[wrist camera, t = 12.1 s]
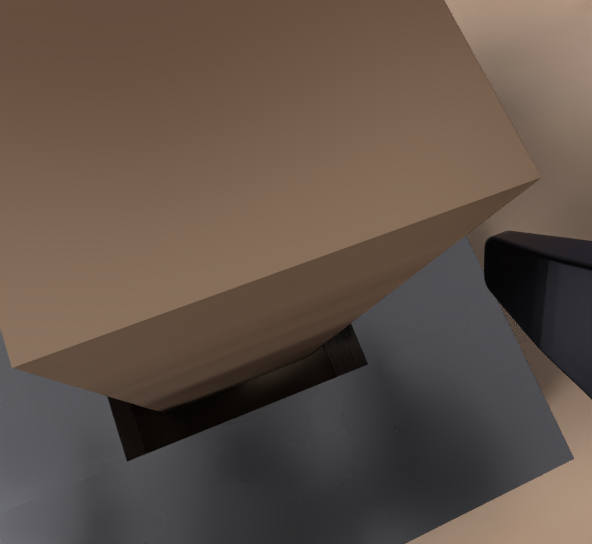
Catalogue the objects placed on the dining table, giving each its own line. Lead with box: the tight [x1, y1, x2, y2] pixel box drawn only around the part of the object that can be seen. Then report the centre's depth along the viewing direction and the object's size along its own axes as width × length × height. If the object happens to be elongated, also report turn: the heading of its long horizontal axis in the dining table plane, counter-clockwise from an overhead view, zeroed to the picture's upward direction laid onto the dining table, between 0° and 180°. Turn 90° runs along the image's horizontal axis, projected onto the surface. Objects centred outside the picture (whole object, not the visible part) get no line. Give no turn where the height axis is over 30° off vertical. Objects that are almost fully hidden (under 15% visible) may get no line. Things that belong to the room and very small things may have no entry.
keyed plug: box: [0, 0, 541, 414], centre depth 11 cm, size 6×4×12 cm
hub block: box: [0, 236, 574, 544], centre depth 15 cm, size 14×14×4 cm
